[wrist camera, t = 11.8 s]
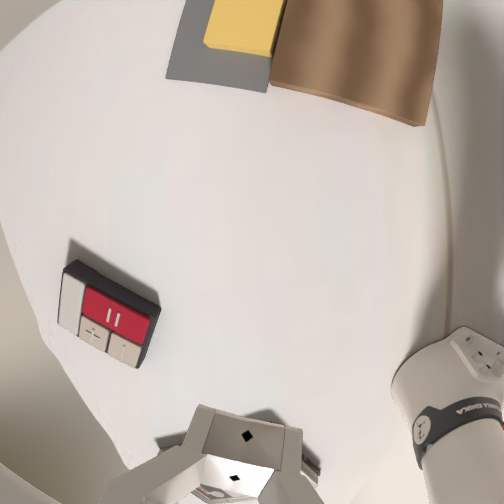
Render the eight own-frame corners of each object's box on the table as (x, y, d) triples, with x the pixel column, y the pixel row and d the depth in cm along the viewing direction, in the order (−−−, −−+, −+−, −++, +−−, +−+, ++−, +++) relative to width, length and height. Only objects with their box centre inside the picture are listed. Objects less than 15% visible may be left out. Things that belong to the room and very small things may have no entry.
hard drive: (320, 469, 51) (320, 487, 47) (212, 489, 59) (208, 504, 55) (271, 419, 47) (268, 440, 43) (158, 447, 55) (151, 462, 51)
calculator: (136, 373, 43) (54, 326, 42) (146, 356, 47) (68, 313, 46) (153, 320, 39) (59, 269, 38) (164, 304, 43) (76, 257, 42)
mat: (296, -32, 25) (296, -34, 25) (265, 93, 31) (265, 92, 31) (201, -40, 26) (200, -41, 26) (166, 79, 32) (165, 78, 32)
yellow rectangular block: (291, -16, 26) (290, -26, 24) (271, 57, 30) (269, 51, 27) (230, -24, 26) (226, -33, 24) (209, 47, 30) (202, 41, 28)
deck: (432, 8, 24) (443, -2, 21) (413, 126, 30) (424, 125, 27) (300, -32, 25) (299, -46, 22) (271, 85, 31) (268, 79, 28)
